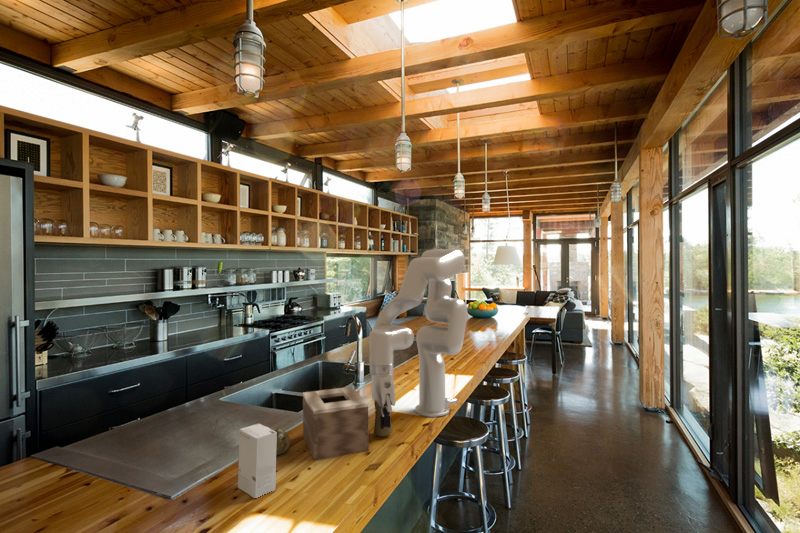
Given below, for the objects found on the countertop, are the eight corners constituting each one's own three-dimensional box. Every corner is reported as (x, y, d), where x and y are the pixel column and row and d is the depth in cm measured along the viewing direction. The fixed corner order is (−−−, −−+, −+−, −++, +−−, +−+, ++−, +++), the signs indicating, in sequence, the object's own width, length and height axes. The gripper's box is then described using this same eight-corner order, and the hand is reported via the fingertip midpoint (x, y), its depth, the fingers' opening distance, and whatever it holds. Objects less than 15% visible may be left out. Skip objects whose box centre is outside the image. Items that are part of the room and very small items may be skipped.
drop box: (351, 428, 146) (351, 386, 146) (368, 450, 129) (368, 403, 129) (303, 436, 140) (302, 392, 139) (314, 460, 123) (313, 410, 123)
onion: (296, 448, 131) (296, 422, 130) (280, 460, 123) (280, 432, 123) (274, 445, 133) (274, 419, 133) (258, 456, 125) (257, 429, 125)
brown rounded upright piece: (390, 436, 136) (389, 401, 136) (371, 435, 137) (370, 400, 137) (394, 428, 142) (393, 395, 142) (376, 427, 143) (375, 394, 143)
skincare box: (237, 488, 108) (236, 429, 108) (259, 479, 113) (258, 421, 112) (256, 500, 103) (255, 437, 102) (278, 490, 107) (277, 430, 107)
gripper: (402, 373, 133) (403, 433, 133) (383, 361, 148) (384, 414, 149) (379, 377, 130) (380, 437, 131) (362, 363, 145) (363, 418, 146)
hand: (382, 424), depth 140 cm, fingers closed on brown rounded upright piece, 4 cm apart
